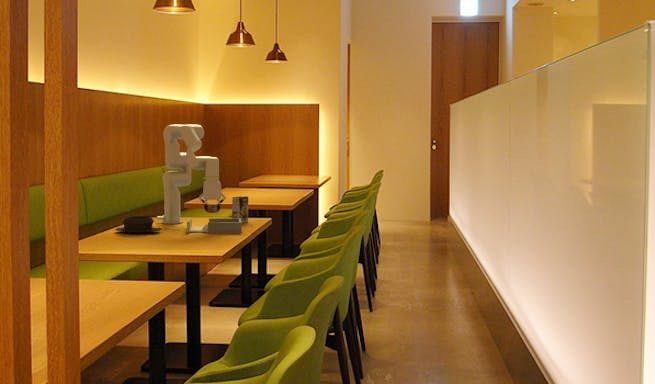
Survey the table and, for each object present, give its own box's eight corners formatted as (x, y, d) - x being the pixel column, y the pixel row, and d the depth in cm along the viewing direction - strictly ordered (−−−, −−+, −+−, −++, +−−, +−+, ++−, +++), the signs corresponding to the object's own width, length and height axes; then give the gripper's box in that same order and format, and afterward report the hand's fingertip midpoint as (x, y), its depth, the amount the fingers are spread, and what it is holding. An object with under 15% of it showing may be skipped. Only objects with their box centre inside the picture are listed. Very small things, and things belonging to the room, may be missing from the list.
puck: (206, 212, 412) (206, 204, 411) (207, 211, 417) (207, 203, 417) (217, 212, 412) (217, 204, 412) (217, 211, 418) (217, 203, 418)
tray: (186, 232, 404) (186, 221, 404) (189, 227, 424) (189, 217, 424) (222, 232, 407) (222, 221, 406) (223, 227, 427) (223, 217, 426)
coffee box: (240, 223, 448) (240, 197, 447) (231, 223, 451) (231, 196, 449) (248, 222, 456) (248, 196, 455) (239, 221, 459) (239, 195, 458)
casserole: (165, 231, 413) (165, 216, 412) (155, 235, 395) (154, 220, 394) (122, 229, 415) (122, 215, 415) (109, 234, 397) (109, 219, 396)
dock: (207, 233, 406) (207, 222, 405) (209, 228, 425) (209, 218, 425) (241, 233, 408) (241, 222, 408) (241, 228, 428) (241, 218, 427)
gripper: (196, 179, 409) (196, 211, 410) (227, 179, 411) (227, 211, 412) (197, 178, 416) (197, 210, 417) (227, 178, 418) (227, 210, 420)
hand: (212, 210), depth 415 cm, fingers closed on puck, 6 cm apart
